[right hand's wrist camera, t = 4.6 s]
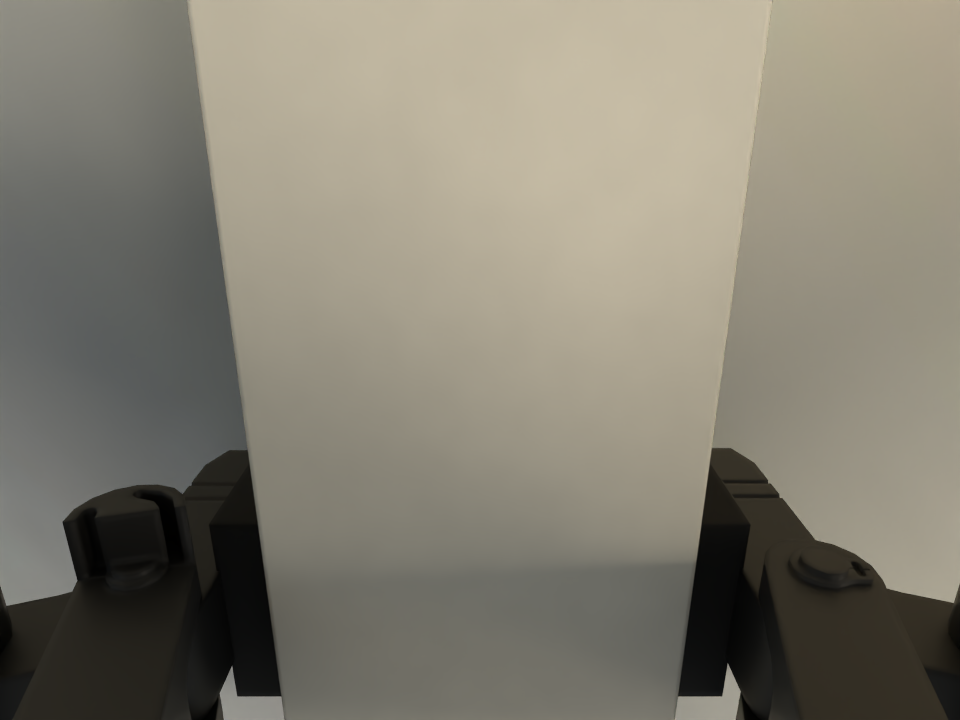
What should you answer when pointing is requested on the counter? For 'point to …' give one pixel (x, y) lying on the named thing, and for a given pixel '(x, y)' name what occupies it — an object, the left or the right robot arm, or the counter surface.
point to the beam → (479, 335)
